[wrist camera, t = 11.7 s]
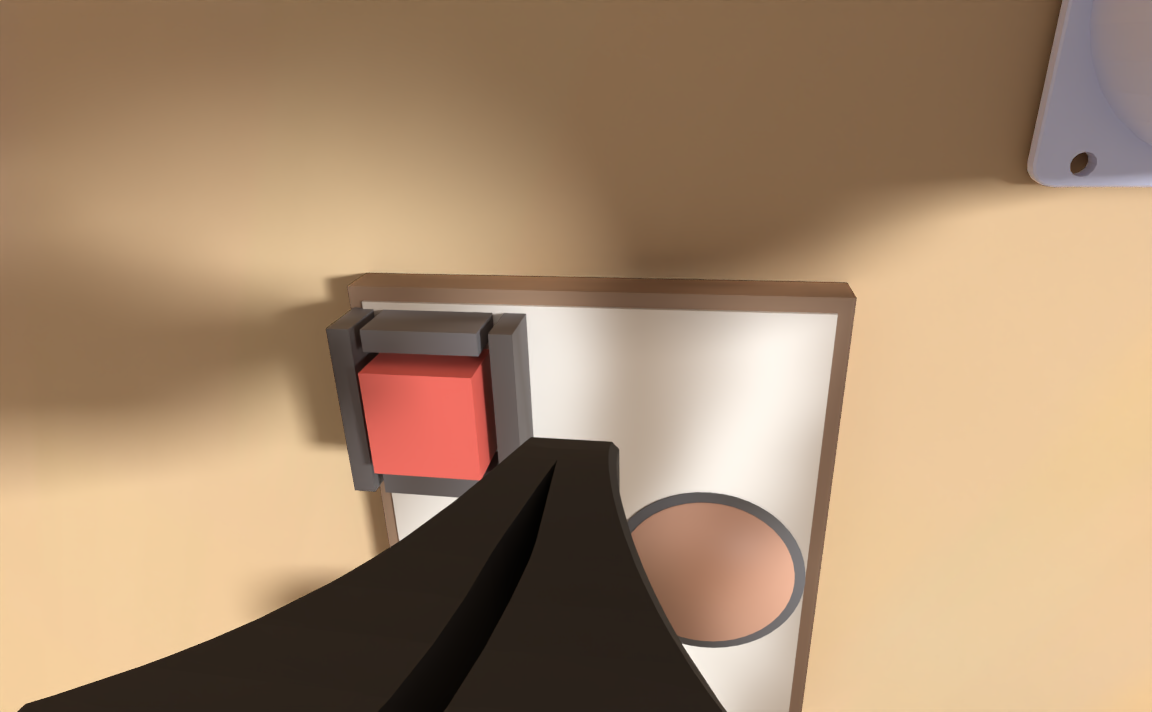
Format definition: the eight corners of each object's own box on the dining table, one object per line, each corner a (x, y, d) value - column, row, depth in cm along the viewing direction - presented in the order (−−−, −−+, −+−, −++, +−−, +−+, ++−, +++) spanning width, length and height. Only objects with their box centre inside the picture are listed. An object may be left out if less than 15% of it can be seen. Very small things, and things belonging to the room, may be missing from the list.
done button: (491, 349, 19) (471, 378, 17) (499, 445, 20) (480, 480, 18) (387, 345, 19) (357, 373, 18) (400, 439, 20) (374, 473, 19)
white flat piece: (847, 282, 18) (870, 321, 16) (793, 709, 24) (804, 787, 22) (366, 272, 20) (317, 305, 18) (425, 667, 26) (396, 734, 24)
